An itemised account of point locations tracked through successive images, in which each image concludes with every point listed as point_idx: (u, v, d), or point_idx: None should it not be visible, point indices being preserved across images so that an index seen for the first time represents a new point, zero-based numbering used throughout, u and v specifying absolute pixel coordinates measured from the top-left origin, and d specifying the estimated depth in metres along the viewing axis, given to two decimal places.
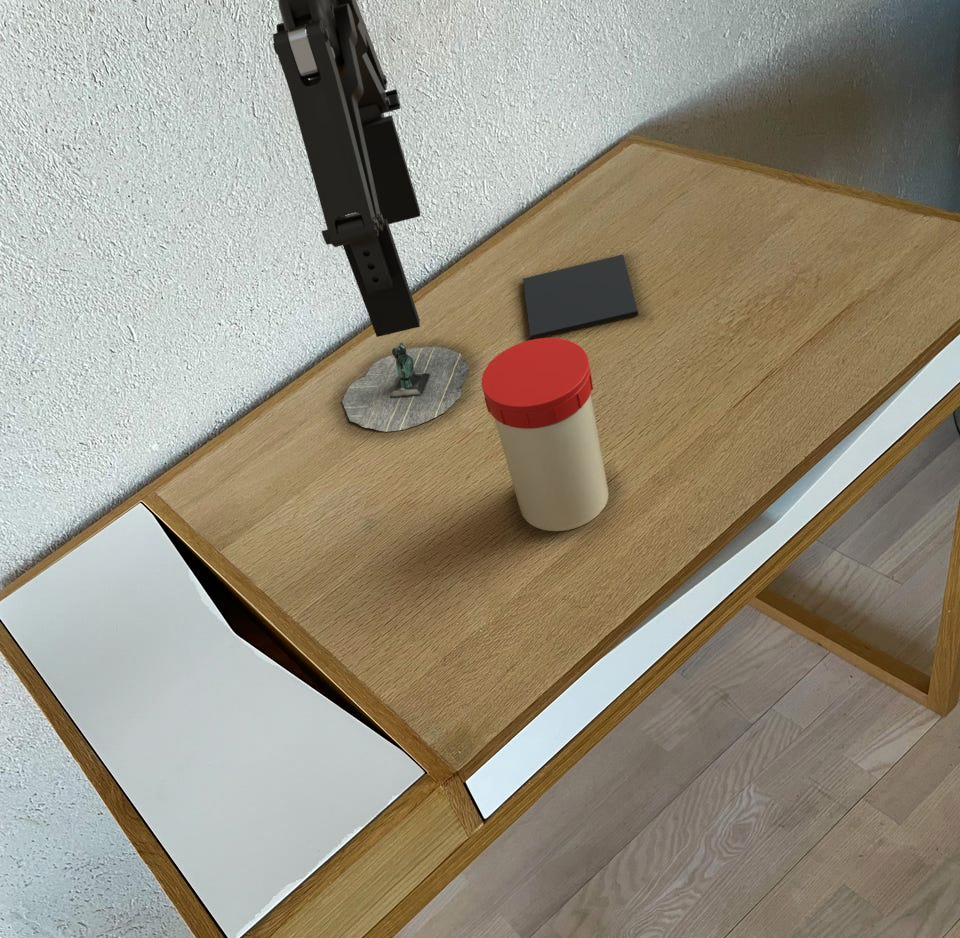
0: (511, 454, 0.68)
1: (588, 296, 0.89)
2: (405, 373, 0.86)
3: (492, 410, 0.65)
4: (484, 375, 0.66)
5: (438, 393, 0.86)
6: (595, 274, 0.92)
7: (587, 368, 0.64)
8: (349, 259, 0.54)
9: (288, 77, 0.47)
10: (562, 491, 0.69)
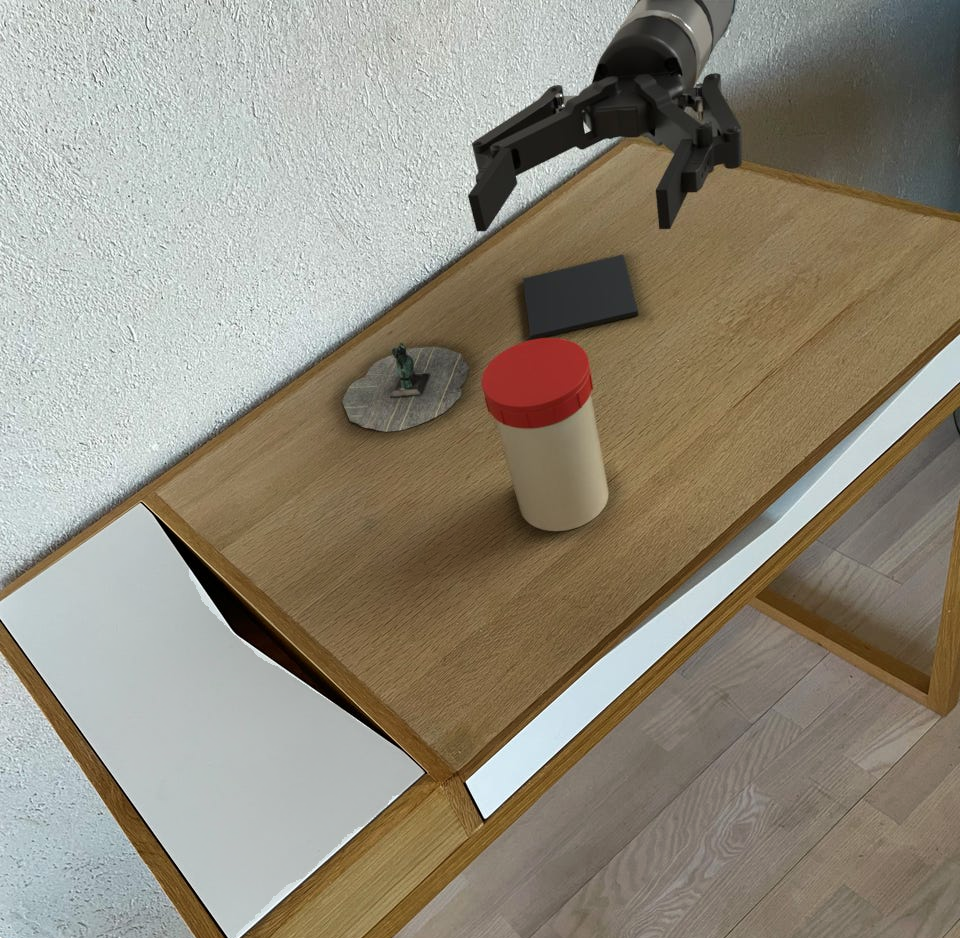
0: (511, 454, 0.68)
1: (588, 296, 0.89)
2: (405, 373, 0.86)
3: (492, 410, 0.65)
4: (484, 375, 0.66)
5: (438, 393, 0.86)
6: (595, 274, 0.92)
7: (587, 368, 0.64)
8: None
9: None
10: (562, 491, 0.69)
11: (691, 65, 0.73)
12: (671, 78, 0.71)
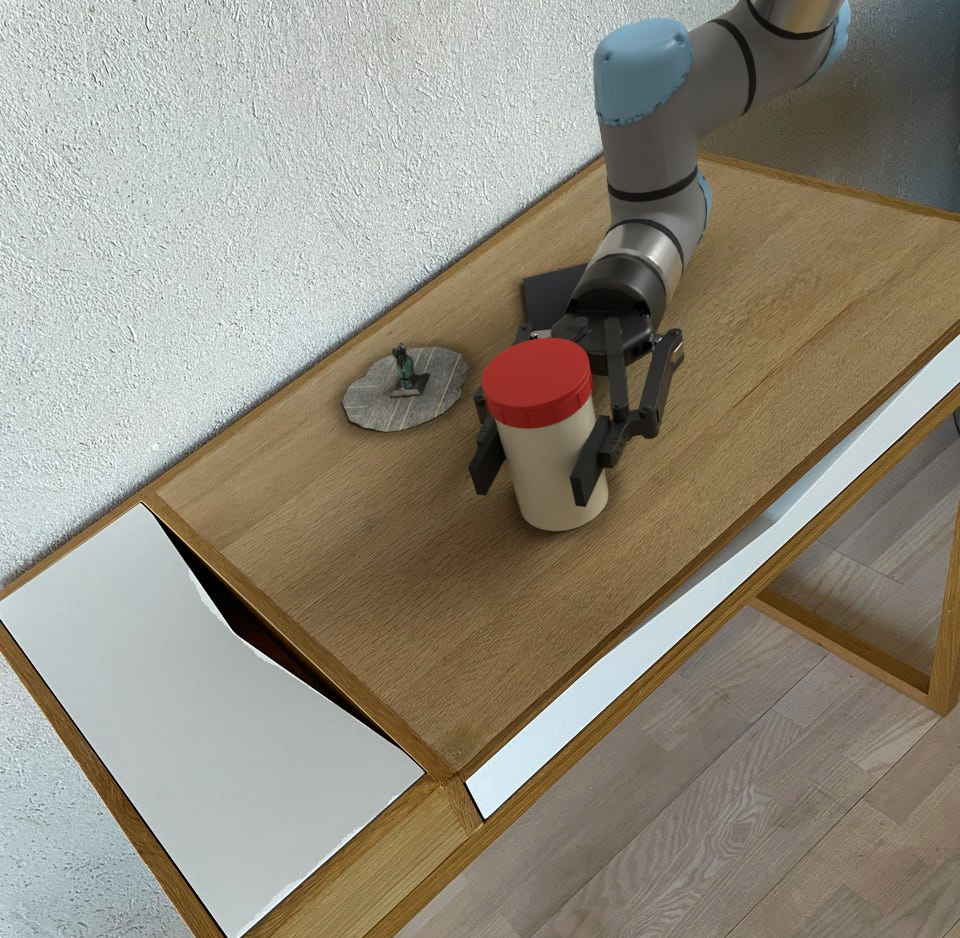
0: (511, 454, 0.68)
1: None
2: (405, 373, 0.86)
3: (492, 410, 0.65)
4: (484, 375, 0.66)
5: (438, 393, 0.86)
6: None
7: (587, 368, 0.64)
8: None
9: None
10: (562, 491, 0.69)
11: (660, 302, 0.76)
12: (640, 320, 0.74)
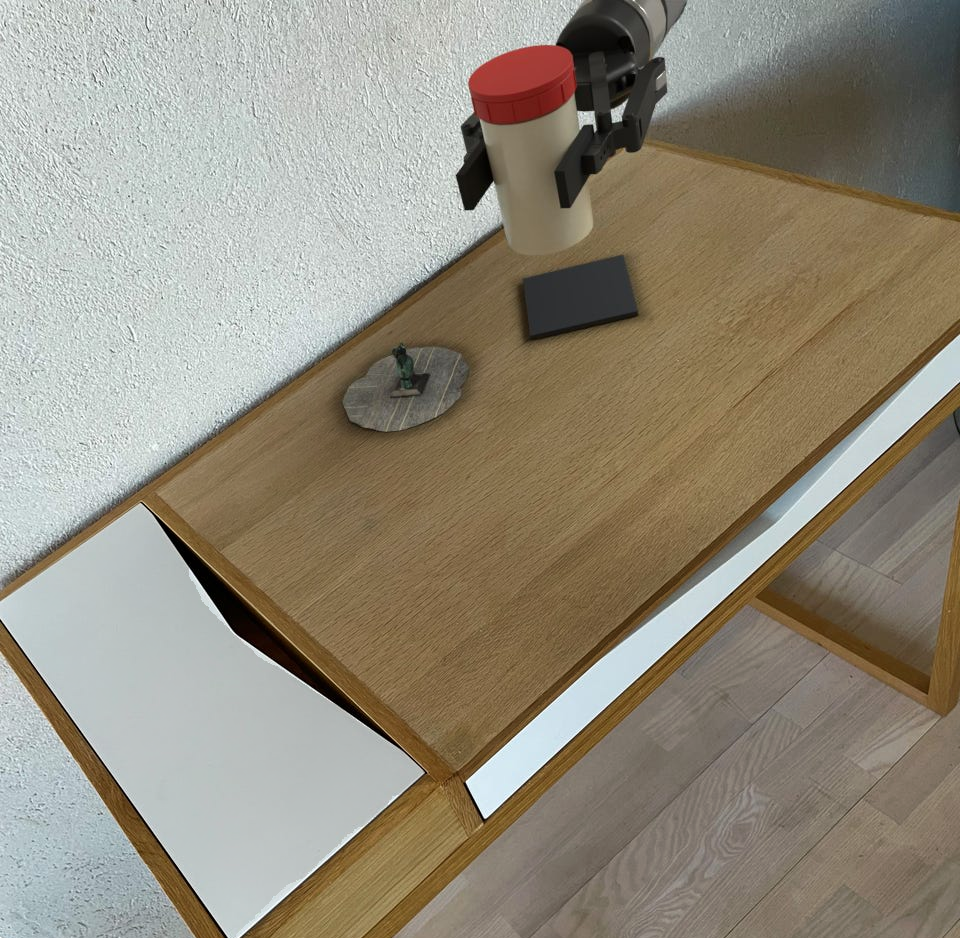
0: (497, 162, 0.69)
1: (588, 296, 0.89)
2: (405, 373, 0.86)
3: (478, 109, 0.67)
4: (471, 78, 0.68)
5: (438, 393, 0.86)
6: (595, 274, 0.92)
7: (571, 61, 0.65)
8: None
9: None
10: (547, 203, 0.70)
11: (644, 44, 0.77)
12: (624, 55, 0.76)
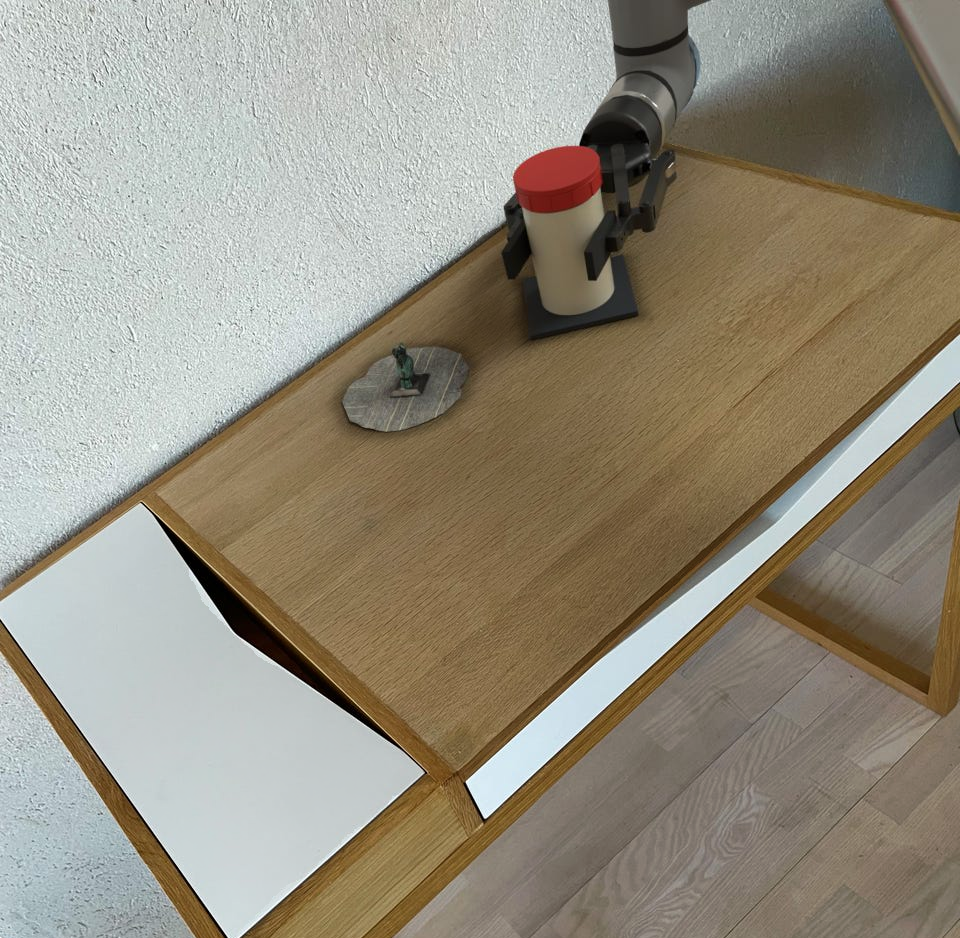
0: (536, 241, 0.84)
1: None
2: (405, 373, 0.86)
3: (521, 200, 0.81)
4: (515, 173, 0.82)
5: (438, 393, 0.86)
6: None
7: (598, 162, 0.80)
8: None
9: None
10: (577, 274, 0.85)
11: (657, 135, 0.92)
12: (640, 146, 0.90)
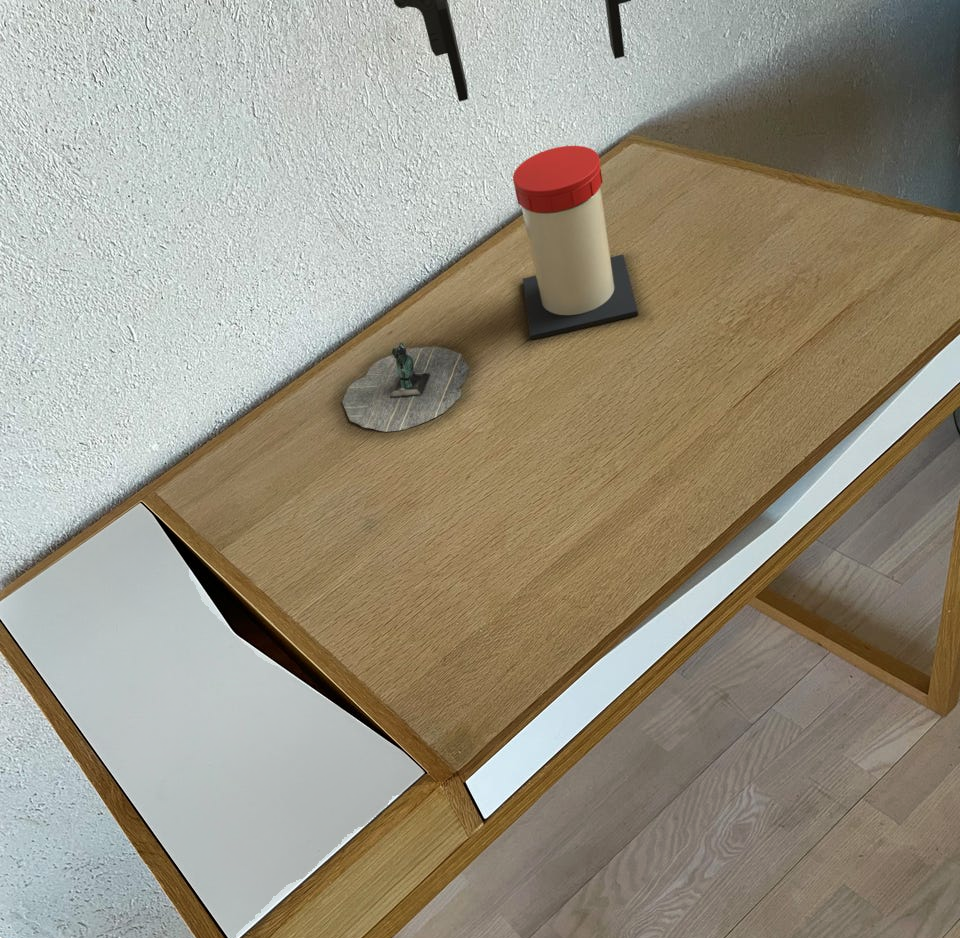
0: (536, 241, 0.84)
1: None
2: (405, 373, 0.86)
3: (521, 200, 0.81)
4: (515, 173, 0.82)
5: (438, 393, 0.86)
6: None
7: (598, 162, 0.80)
8: None
9: None
10: (577, 274, 0.85)
11: None
12: None
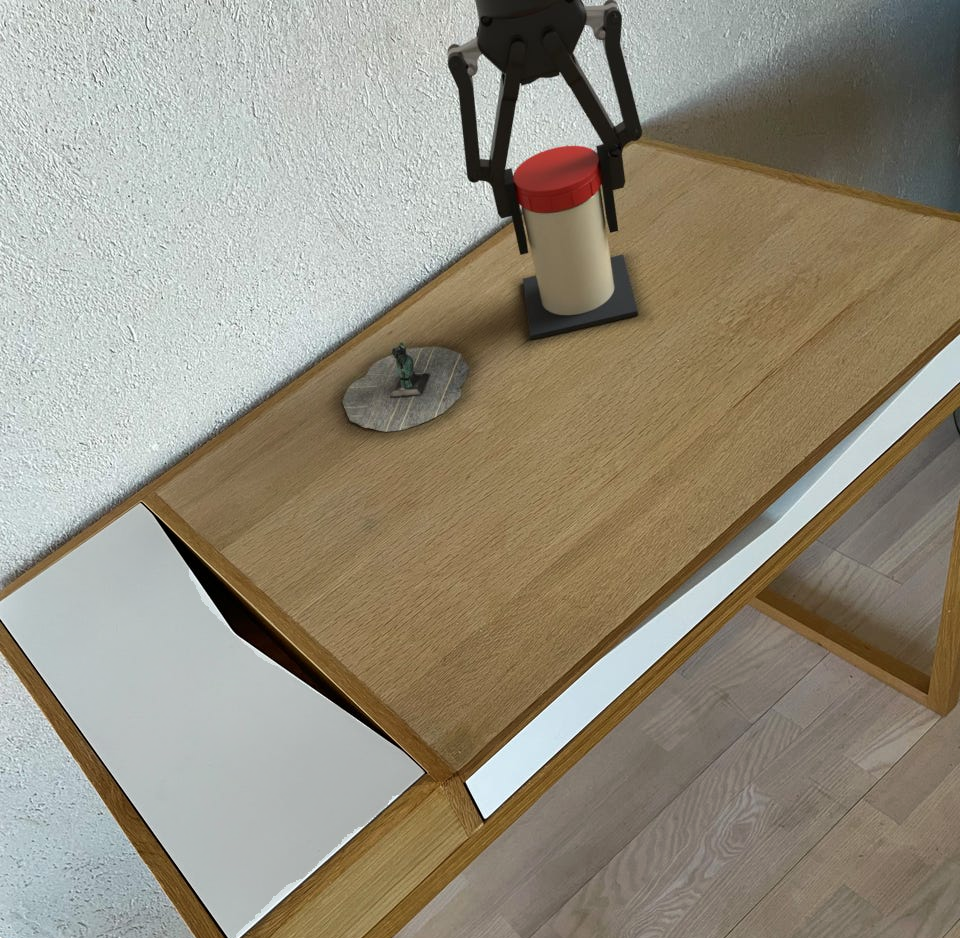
0: (536, 241, 0.84)
1: None
2: (405, 373, 0.86)
3: (521, 200, 0.81)
4: (515, 173, 0.82)
5: (438, 393, 0.86)
6: None
7: (598, 162, 0.80)
8: None
9: None
10: (577, 274, 0.85)
11: None
12: (569, 8, 0.71)
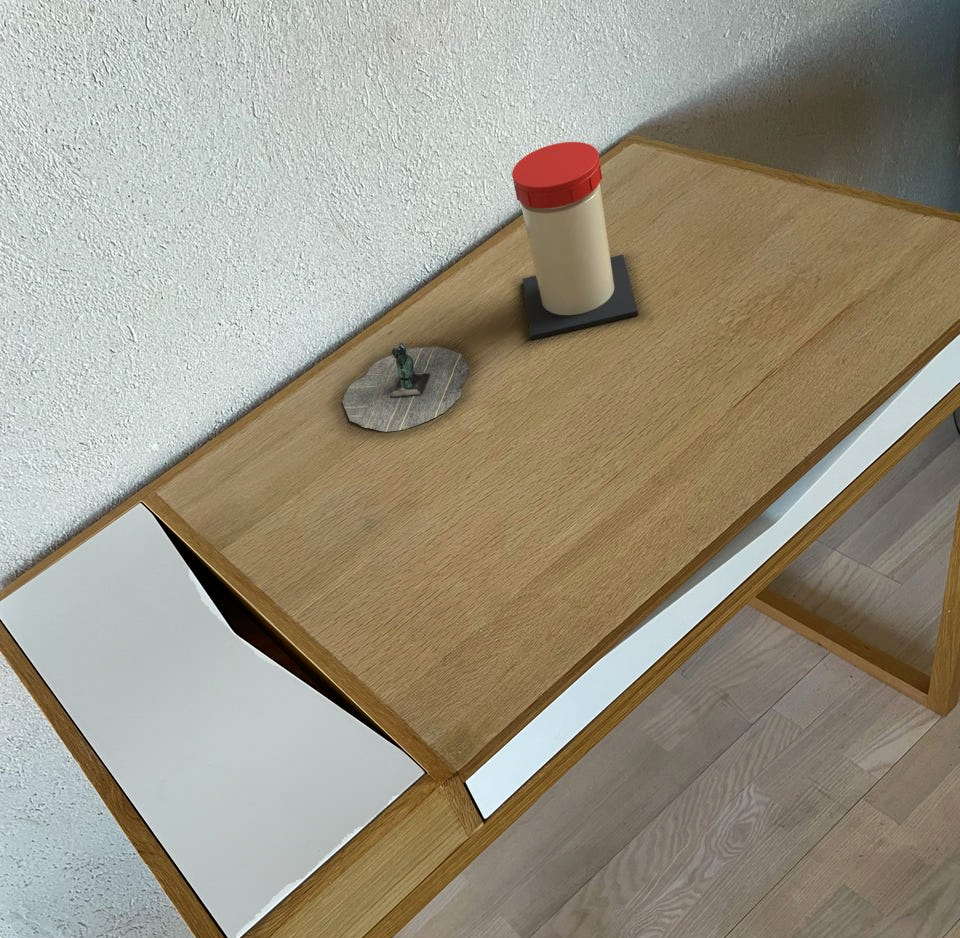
0: (536, 241, 0.84)
1: None
2: (405, 373, 0.86)
3: None
4: (579, 143, 0.82)
5: (438, 393, 0.86)
6: None
7: (526, 186, 0.80)
8: None
9: None
10: (577, 274, 0.85)
11: None
12: None
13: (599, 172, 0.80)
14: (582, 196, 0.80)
